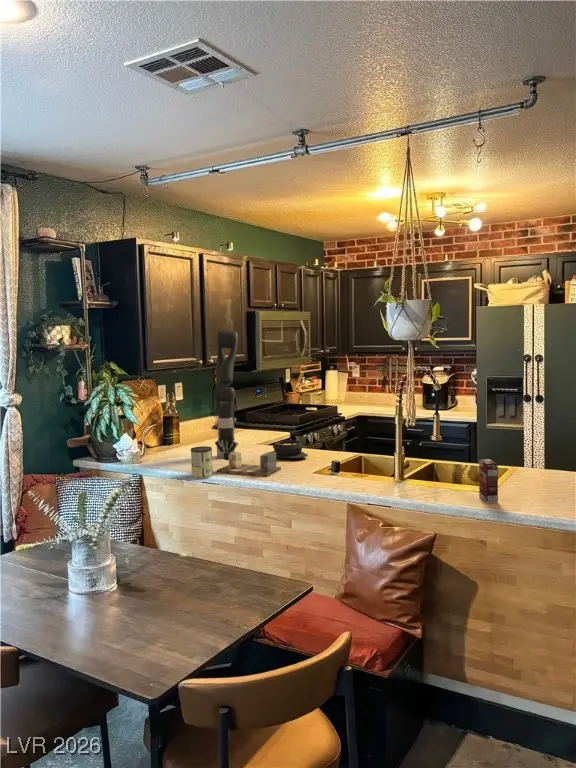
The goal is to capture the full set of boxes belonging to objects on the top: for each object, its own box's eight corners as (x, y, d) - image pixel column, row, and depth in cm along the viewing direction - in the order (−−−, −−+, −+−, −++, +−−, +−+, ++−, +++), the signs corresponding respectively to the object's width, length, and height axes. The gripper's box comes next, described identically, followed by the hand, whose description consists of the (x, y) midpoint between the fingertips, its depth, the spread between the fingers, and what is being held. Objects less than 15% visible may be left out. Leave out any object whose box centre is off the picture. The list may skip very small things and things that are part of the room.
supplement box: (478, 497, 251) (478, 459, 250) (490, 497, 251) (490, 458, 250) (486, 503, 242) (486, 463, 241) (498, 502, 243) (498, 463, 241)
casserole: (261, 457, 346) (260, 442, 345) (285, 452, 358) (285, 437, 358) (290, 463, 327) (290, 447, 327) (315, 457, 340) (315, 442, 339)
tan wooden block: (225, 469, 307) (224, 455, 307) (234, 465, 317) (234, 452, 316) (232, 470, 306) (231, 456, 305) (241, 466, 315) (241, 452, 314)
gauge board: (216, 472, 308) (216, 454, 308) (232, 466, 323) (231, 448, 322) (267, 476, 297) (266, 457, 296) (280, 469, 312) (280, 451, 311)
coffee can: (197, 473, 308) (196, 445, 307) (216, 474, 304) (215, 446, 303) (187, 478, 298) (186, 449, 297) (207, 479, 295) (206, 450, 294)
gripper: (210, 427, 312) (212, 460, 314) (233, 428, 307) (234, 462, 308) (218, 424, 319) (219, 457, 320) (240, 425, 314) (242, 459, 315)
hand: (227, 460), depth 314 cm, fingers closed
